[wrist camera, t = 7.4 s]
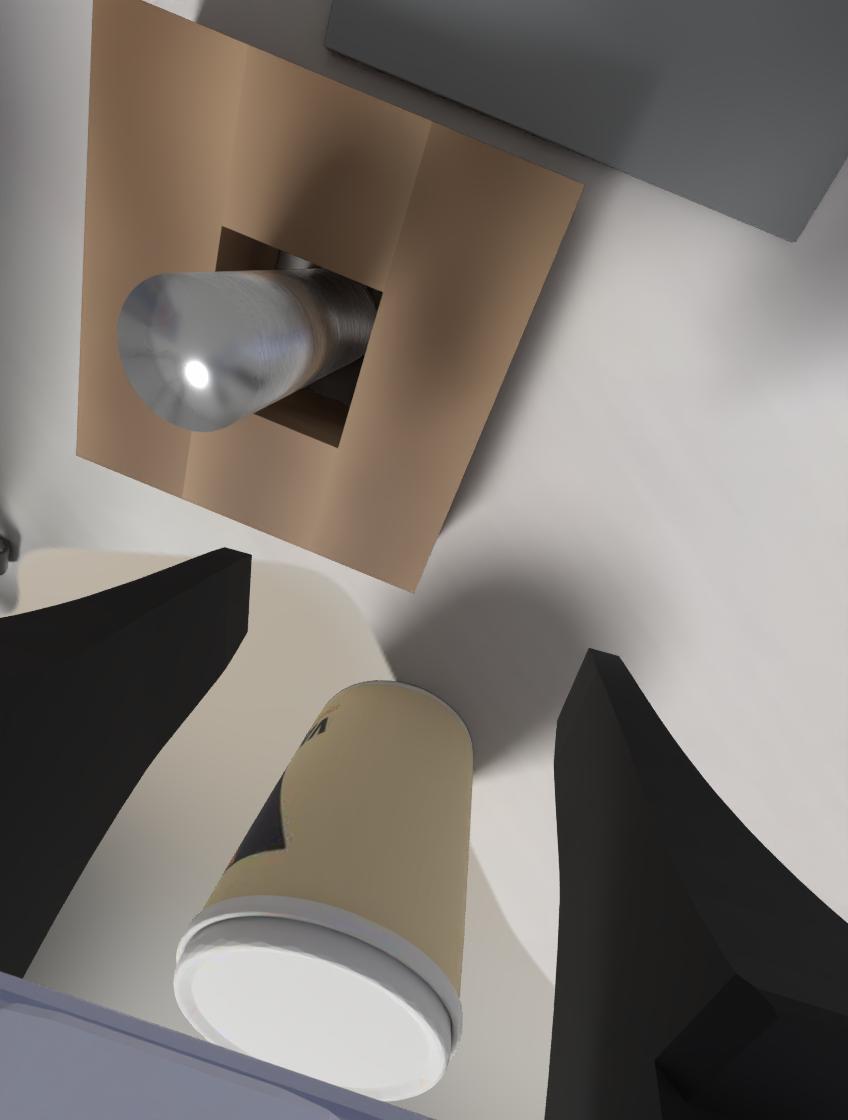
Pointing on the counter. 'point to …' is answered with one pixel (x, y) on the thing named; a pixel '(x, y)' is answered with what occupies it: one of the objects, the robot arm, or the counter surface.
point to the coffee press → (4, 555)
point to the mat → (640, 86)
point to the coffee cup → (346, 903)
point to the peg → (238, 339)
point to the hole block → (325, 240)
